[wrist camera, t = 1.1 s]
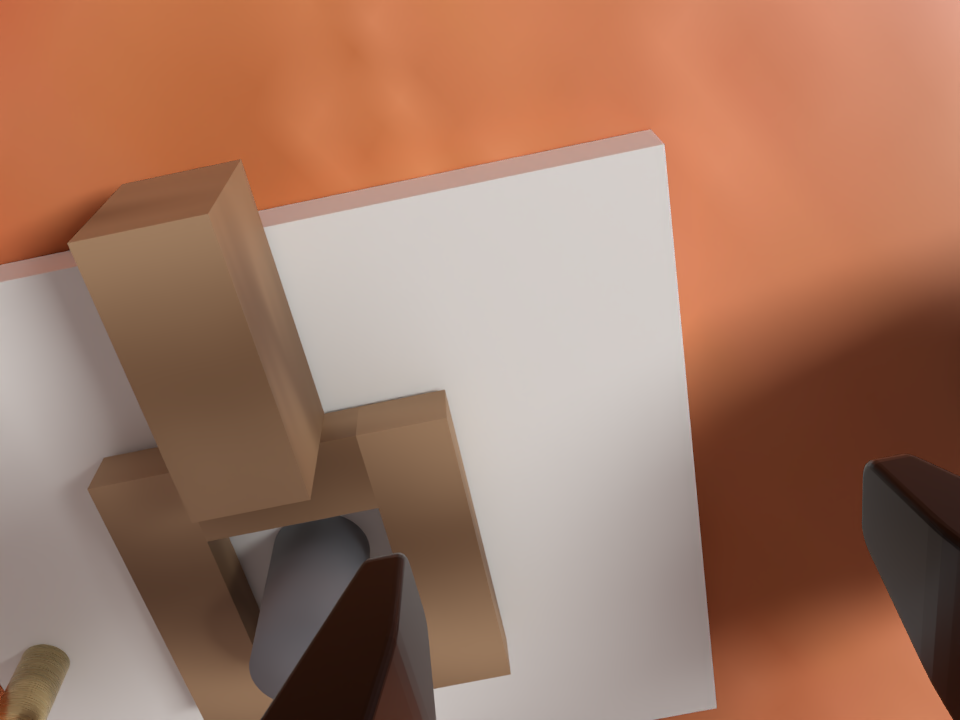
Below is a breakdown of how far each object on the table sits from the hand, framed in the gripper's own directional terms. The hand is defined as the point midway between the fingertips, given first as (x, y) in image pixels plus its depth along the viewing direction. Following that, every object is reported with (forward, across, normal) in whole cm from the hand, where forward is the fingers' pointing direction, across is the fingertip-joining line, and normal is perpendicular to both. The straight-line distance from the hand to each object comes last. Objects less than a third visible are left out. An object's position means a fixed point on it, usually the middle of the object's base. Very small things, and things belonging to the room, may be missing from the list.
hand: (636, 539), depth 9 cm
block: (+11, +6, +5) cm, 13 cm away
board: (+12, +6, +8) cm, 16 cm away
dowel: (+11, +14, +10) cm, 21 cm away
